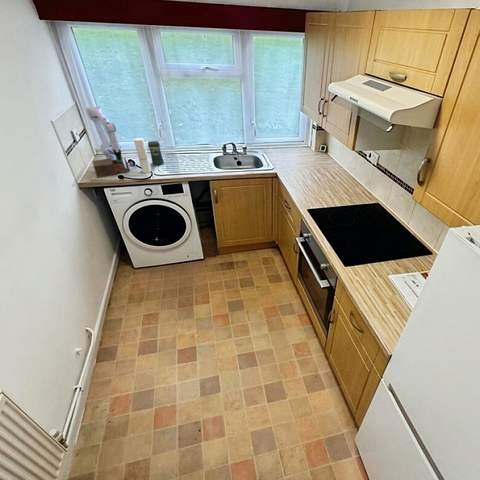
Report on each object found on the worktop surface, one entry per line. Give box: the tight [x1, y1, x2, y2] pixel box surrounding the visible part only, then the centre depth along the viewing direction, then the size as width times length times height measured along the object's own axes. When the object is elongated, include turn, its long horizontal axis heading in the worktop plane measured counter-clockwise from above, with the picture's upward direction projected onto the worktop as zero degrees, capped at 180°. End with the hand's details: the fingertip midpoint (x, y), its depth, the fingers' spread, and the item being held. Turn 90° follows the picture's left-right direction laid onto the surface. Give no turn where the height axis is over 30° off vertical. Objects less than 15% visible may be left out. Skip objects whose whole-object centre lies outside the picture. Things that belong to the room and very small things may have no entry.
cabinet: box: [92, 158, 117, 178], centre depth 237 cm, size 14×15×9 cm
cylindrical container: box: [133, 137, 152, 174], centre depth 237 cm, size 7×7×25 cm
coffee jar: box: [147, 140, 165, 166], centre depth 254 cm, size 10×8×19 cm
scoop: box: [108, 149, 124, 162], centre depth 233 cm, size 9×5×10 cm, turn 119°
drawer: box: [112, 157, 134, 174], centre depth 242 cm, size 17×13×7 cm
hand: (119, 159), depth 236 cm, fingers closed on scoop, 4 cm apart
